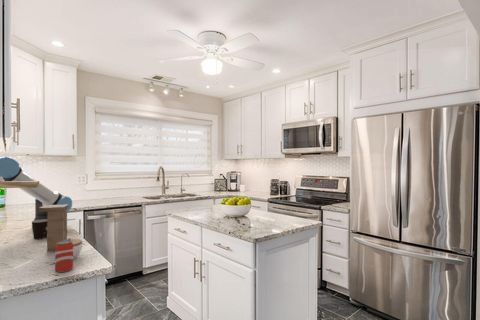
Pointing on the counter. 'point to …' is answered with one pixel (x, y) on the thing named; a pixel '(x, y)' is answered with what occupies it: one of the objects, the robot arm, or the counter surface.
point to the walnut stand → (55, 224)
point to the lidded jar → (76, 246)
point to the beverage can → (64, 256)
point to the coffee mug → (39, 228)
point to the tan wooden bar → (19, 184)
